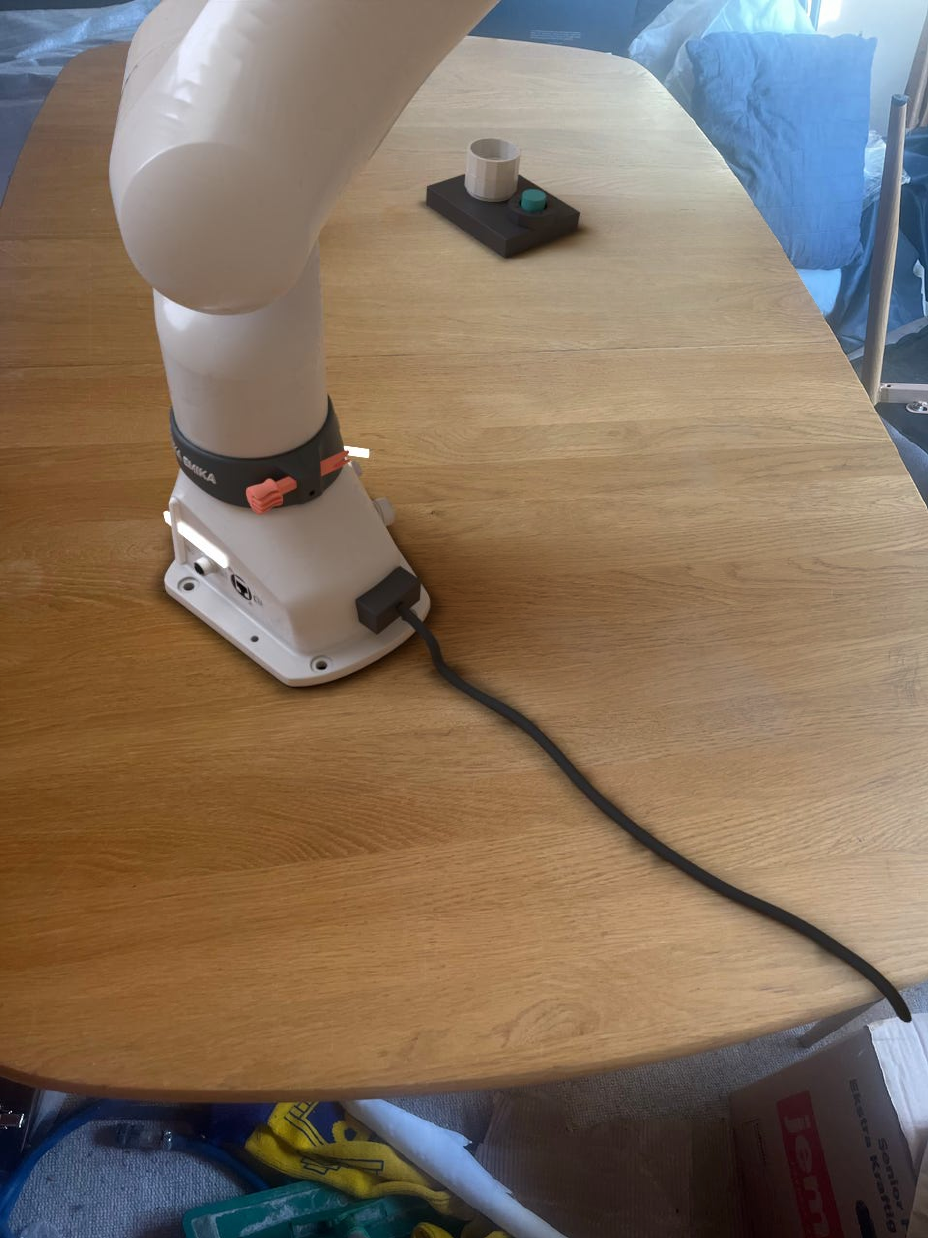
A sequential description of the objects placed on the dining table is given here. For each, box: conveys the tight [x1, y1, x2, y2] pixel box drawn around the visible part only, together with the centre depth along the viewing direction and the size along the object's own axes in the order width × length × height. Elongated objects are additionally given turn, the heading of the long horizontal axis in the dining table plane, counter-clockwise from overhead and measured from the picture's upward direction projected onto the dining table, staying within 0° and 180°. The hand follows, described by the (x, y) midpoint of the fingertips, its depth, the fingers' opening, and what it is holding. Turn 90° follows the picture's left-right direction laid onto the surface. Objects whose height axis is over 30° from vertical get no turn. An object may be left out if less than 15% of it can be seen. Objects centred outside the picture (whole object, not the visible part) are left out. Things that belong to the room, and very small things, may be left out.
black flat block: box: [425, 173, 581, 259], centre depth 117 cm, size 16×12×4 cm
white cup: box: [464, 136, 522, 202], centre depth 116 cm, size 6×6×5 cm
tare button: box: [521, 189, 546, 212], centre depth 113 cm, size 3×3×2 cm
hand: (489, 5), depth 101 cm, fingers open, 8 cm apart
